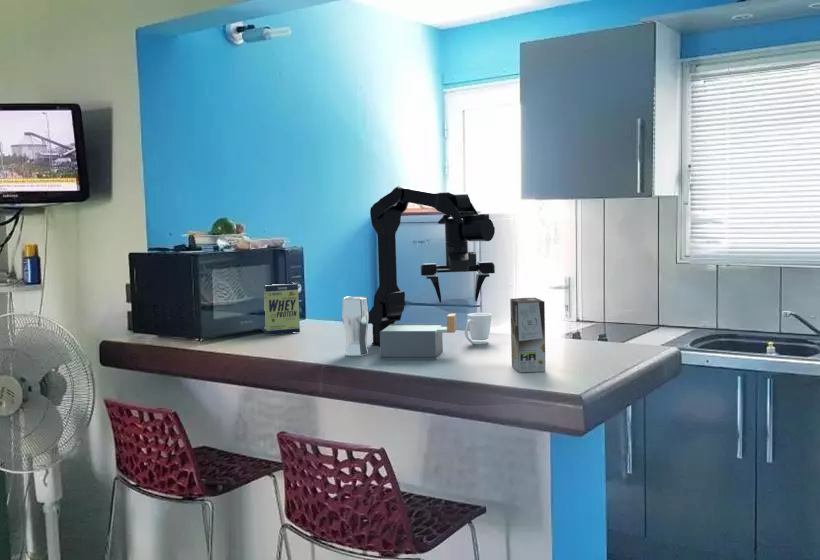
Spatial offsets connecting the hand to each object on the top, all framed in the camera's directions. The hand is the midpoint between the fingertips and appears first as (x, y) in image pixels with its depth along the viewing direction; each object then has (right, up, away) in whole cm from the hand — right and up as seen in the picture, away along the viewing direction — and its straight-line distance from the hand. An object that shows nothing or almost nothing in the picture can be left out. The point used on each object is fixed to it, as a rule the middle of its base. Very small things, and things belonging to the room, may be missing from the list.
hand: (458, 301), depth 206 cm
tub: (-12, -14, 0) cm, 18 cm away
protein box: (-55, -11, +51) cm, 76 cm away
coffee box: (+15, -15, -22) cm, 30 cm away
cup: (+6, -12, +15) cm, 20 cm away
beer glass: (-26, -14, +4) cm, 30 cm away
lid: (-10, -7, -1) cm, 12 cm away
